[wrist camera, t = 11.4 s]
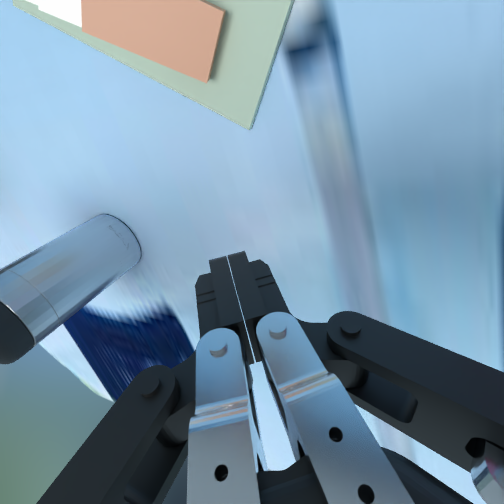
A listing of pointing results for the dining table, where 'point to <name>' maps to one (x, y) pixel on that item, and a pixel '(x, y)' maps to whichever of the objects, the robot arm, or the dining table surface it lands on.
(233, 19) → the mat
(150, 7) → the domino
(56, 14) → the domino
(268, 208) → the dining table surface
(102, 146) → the dining table surface
